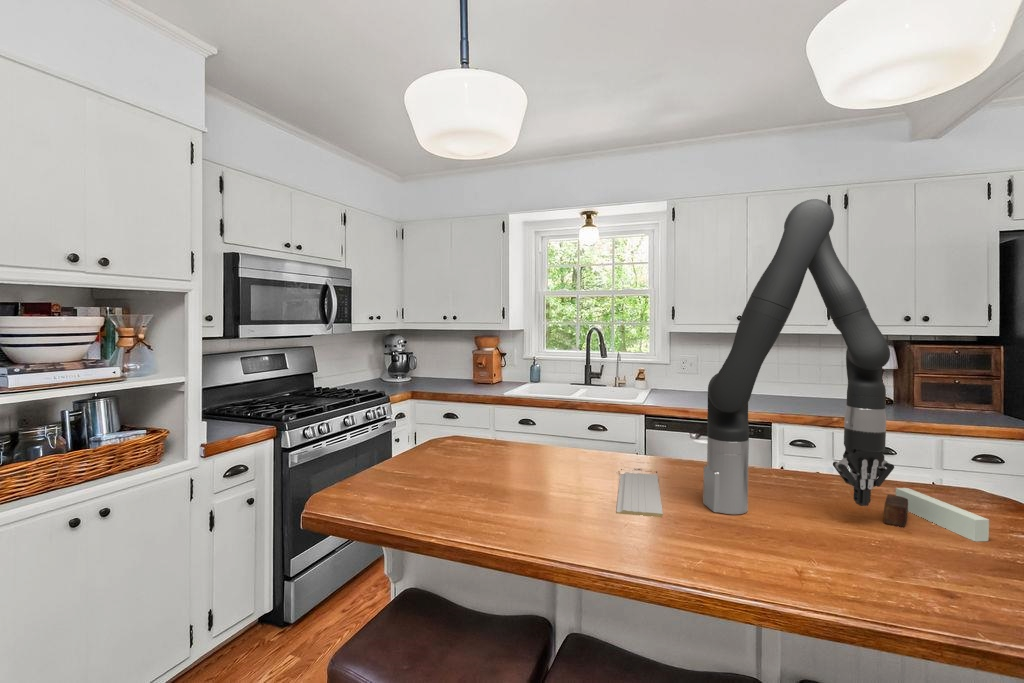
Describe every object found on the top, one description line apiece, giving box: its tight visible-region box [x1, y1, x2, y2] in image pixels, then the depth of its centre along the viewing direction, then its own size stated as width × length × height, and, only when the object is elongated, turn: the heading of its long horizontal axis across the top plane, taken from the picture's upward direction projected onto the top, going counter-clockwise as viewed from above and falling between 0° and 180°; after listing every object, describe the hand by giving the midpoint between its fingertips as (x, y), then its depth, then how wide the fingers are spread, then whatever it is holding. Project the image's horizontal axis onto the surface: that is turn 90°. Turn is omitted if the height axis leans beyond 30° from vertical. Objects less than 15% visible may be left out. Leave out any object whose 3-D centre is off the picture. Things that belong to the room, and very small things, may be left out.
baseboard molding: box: [615, 468, 664, 518], centre depth 132 cm, size 31×3×12 cm
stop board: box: [895, 487, 990, 542], centre depth 113 cm, size 3×20×4 cm, turn 3°
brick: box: [883, 494, 909, 528], centre depth 115 cm, size 11×4×5 cm, turn 140°
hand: (861, 504), depth 111 cm, fingers closed
